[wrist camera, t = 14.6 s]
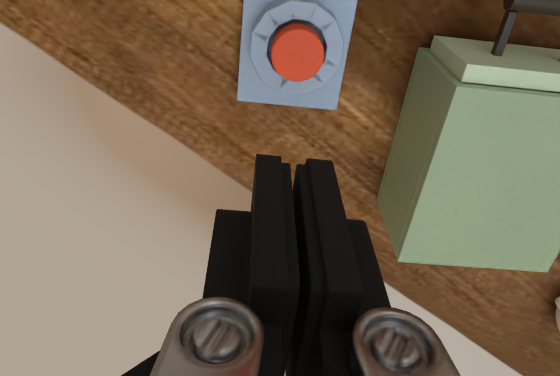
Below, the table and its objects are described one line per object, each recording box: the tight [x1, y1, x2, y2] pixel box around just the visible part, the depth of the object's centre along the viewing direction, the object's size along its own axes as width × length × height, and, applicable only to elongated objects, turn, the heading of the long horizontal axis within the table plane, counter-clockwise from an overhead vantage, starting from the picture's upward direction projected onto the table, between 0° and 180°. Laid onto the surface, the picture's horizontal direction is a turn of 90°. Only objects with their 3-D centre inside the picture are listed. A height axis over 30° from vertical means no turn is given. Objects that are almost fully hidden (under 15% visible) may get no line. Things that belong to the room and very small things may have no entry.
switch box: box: [237, 0, 358, 110], centre depth 33 cm, size 10×8×4 cm
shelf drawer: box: [430, 0, 560, 94], centre depth 34 cm, size 18×11×7 cm, turn 173°
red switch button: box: [271, 23, 324, 82], centre depth 32 cm, size 4×4×2 cm
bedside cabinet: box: [376, 47, 560, 272], centre depth 36 cm, size 15×13×9 cm
